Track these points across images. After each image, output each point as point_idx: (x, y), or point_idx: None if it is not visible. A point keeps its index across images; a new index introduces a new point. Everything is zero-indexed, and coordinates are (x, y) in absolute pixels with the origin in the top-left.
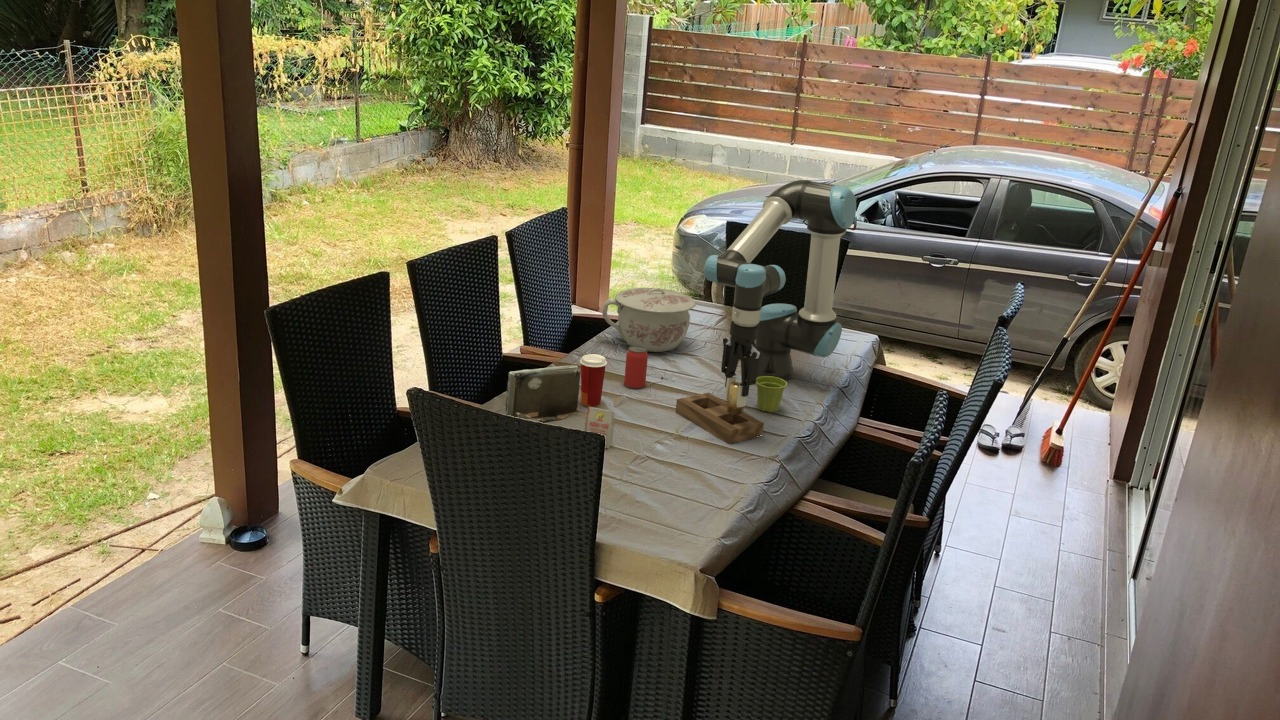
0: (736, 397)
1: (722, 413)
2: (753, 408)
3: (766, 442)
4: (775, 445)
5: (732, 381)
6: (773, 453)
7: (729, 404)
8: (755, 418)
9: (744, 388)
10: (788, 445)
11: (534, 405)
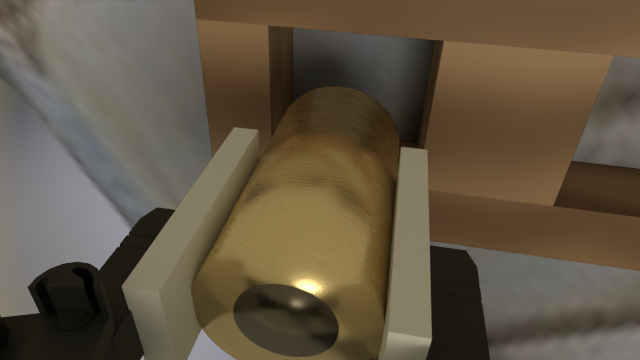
0: (251, 180)
1: (454, 114)
2: (490, 340)
3: (178, 132)
4: (138, 142)
5: (382, 337)
6: (62, 68)
7: (333, 119)
8: None
9: (111, 276)
10: (124, 186)
11: None
